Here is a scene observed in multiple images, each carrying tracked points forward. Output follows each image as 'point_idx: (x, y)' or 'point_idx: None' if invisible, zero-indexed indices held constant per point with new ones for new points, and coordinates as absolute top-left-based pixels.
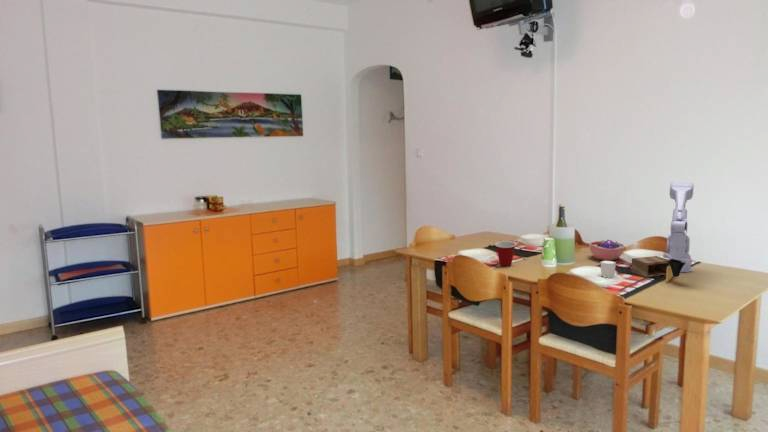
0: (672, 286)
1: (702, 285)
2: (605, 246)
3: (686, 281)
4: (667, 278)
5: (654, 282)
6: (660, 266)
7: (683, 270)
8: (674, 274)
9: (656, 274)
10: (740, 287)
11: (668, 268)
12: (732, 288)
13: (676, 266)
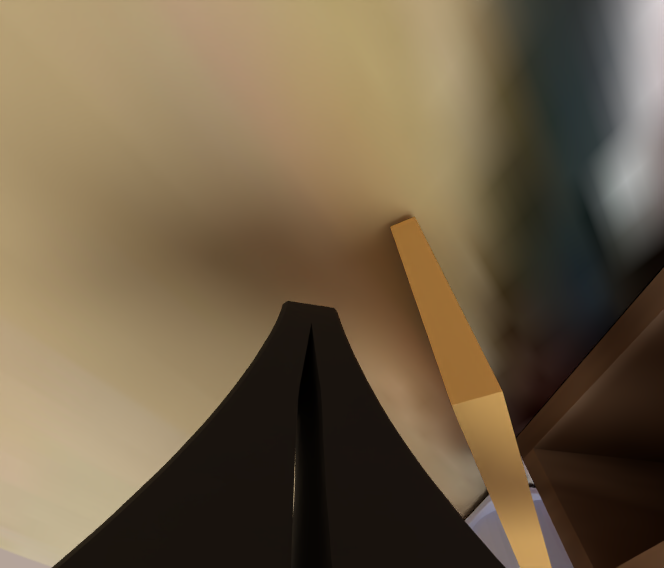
0: (213, 97)
1: (141, 398)
2: None
3: None
4: (407, 248)
5: (535, 39)
6: (661, 497)
7: (475, 532)
8: (288, 318)
9: (629, 342)
10: (33, 509)
11: (450, 388)
12: (11, 474)
13: (131, 504)
